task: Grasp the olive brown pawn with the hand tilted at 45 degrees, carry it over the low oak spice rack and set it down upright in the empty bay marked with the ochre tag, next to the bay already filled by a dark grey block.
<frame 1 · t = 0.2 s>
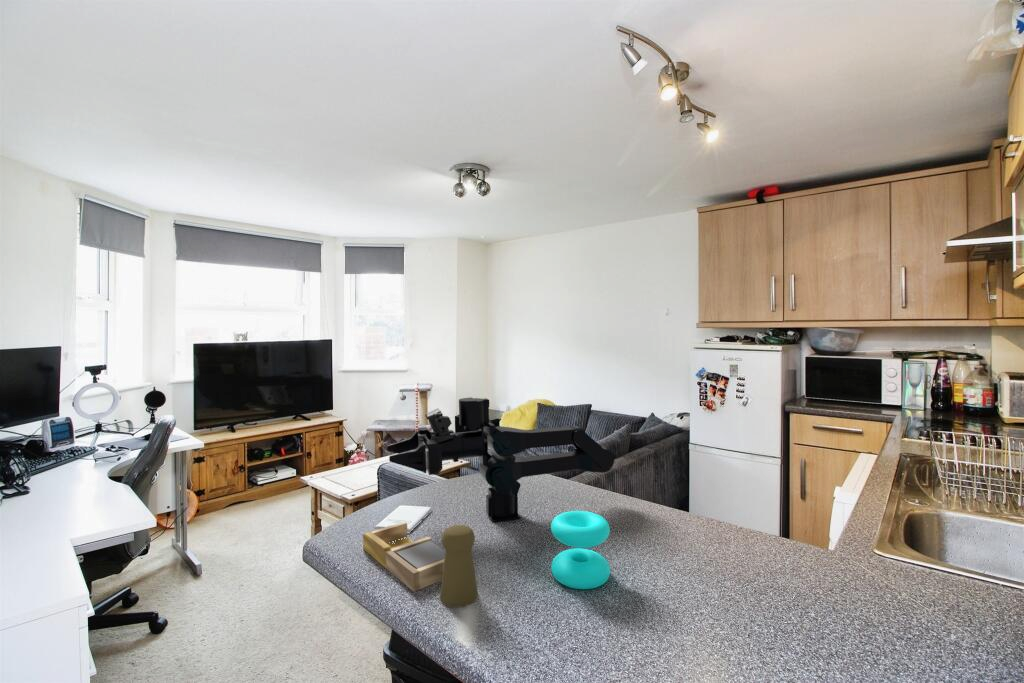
hand: (388, 453, 100), 17 cm above the countertop, tool horizontal, fingers open, 9 cm apart
donuts: (580, 578, 81), on the countertop
external hard drive: (404, 523, 106), on the countertop
spice rack: (411, 559, 87), on the countertop
olive brown pawn: (459, 597, 75), on the countertop
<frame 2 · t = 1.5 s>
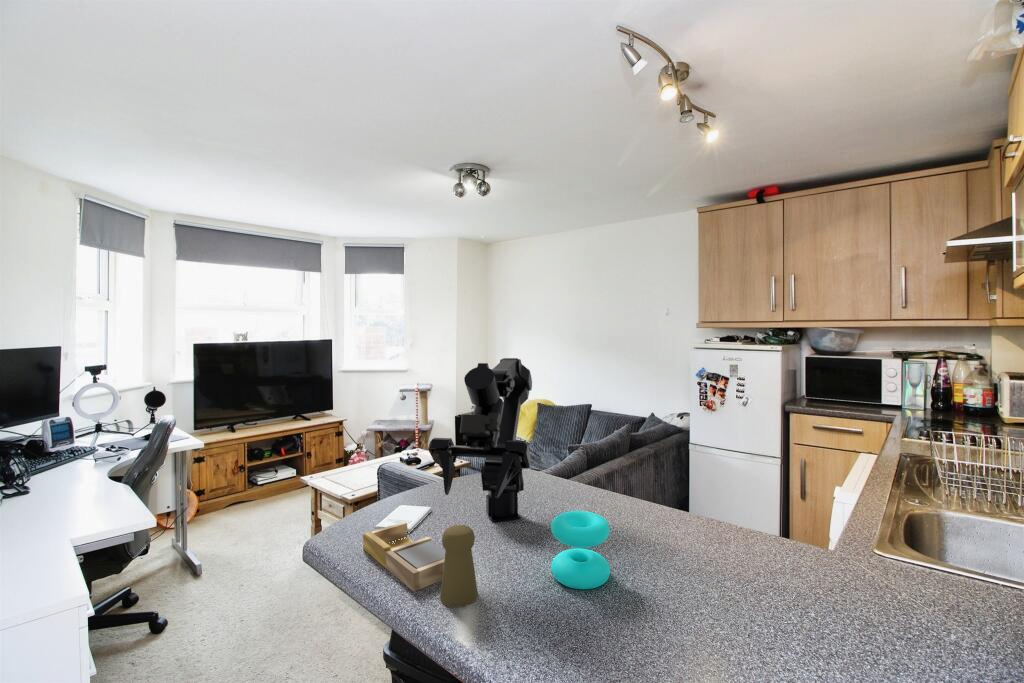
hand: (471, 495, 82), 13 cm above the countertop, tool tilted 45°, fingers open, 9 cm apart
nothing on the countertop moved.
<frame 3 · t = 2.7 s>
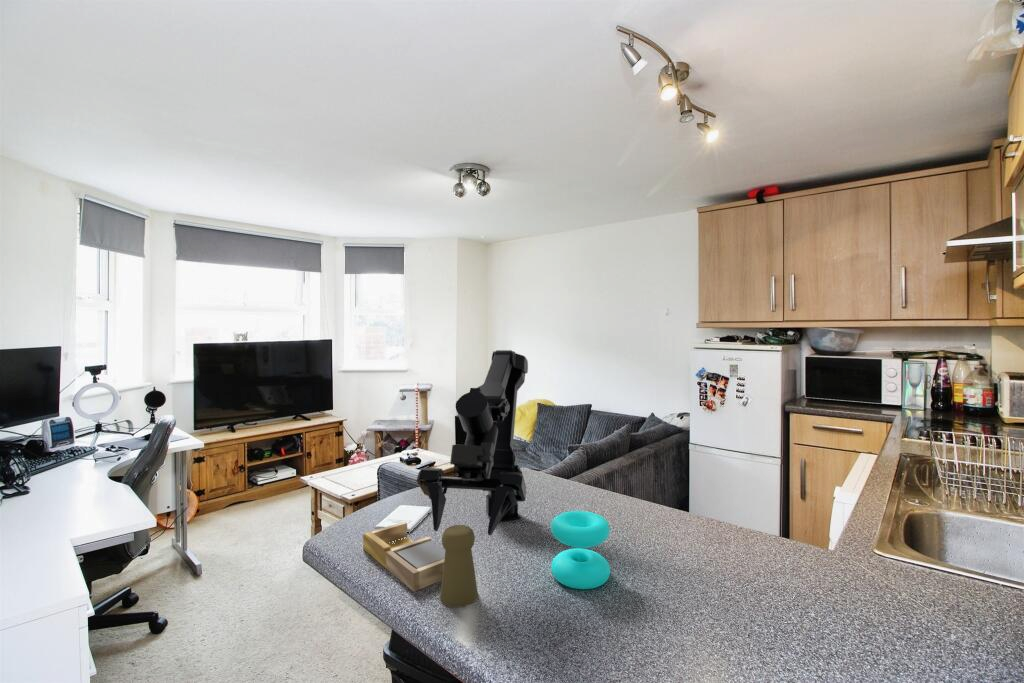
hand: (462, 532, 77), 9 cm above the countertop, tool tilted 45°, fingers open, 9 cm apart
nothing on the countertop moved.
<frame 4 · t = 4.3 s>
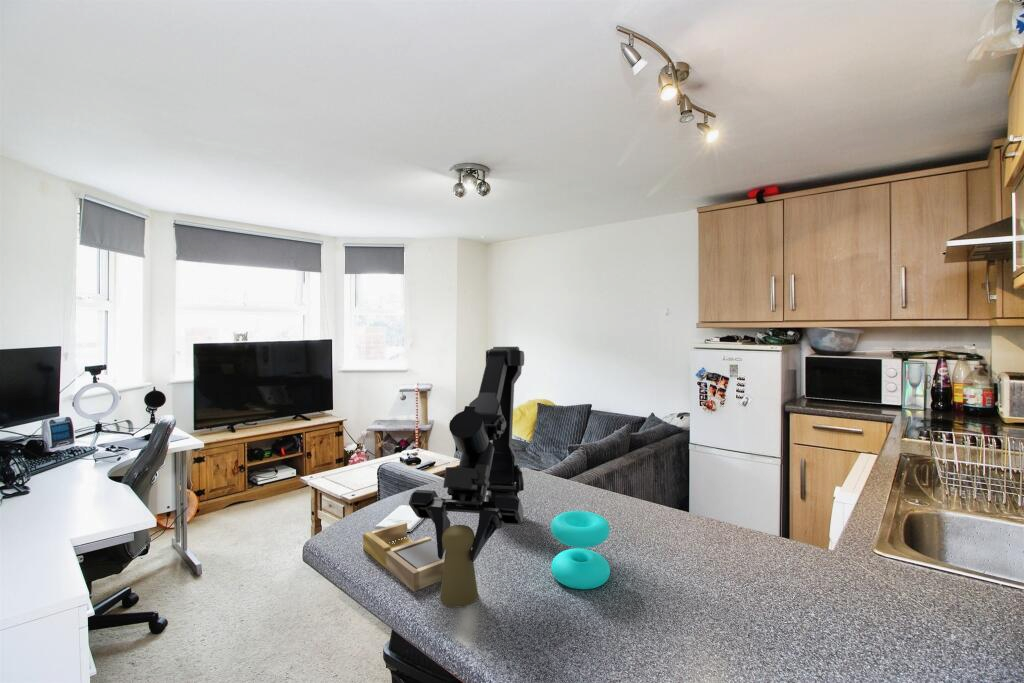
hand: (455, 559, 73), 7 cm above the countertop, tool tilted 45°, fingers closed on olive brown pawn, 5 cm apart
olive brown pawn: (459, 597, 75), on the countertop, touching gripper
everything else where it was.
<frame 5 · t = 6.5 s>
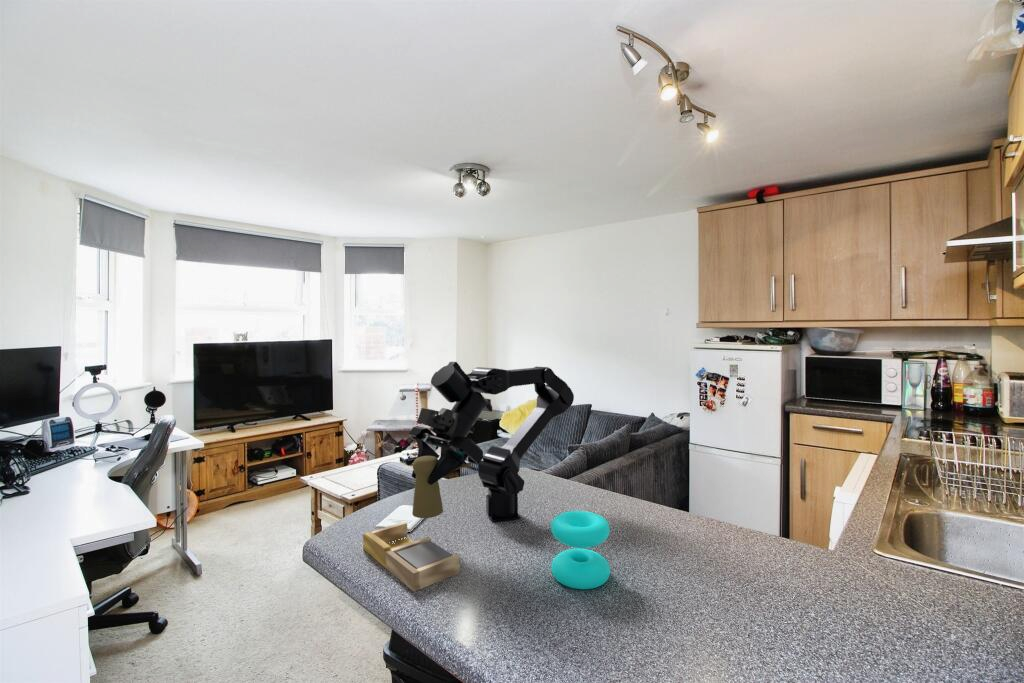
hand: (420, 480, 92), 13 cm above the countertop, tool tilted 45°, fingers closed on olive brown pawn, 5 cm apart
olive brown pawn: (427, 513, 93), point 6 cm above the countertop, touching gripper
everything else where it was.
when the fingers open (8 cm above the countertop, at t = 8.6 s): olive brown pawn stays where it is, resting on spice rack.
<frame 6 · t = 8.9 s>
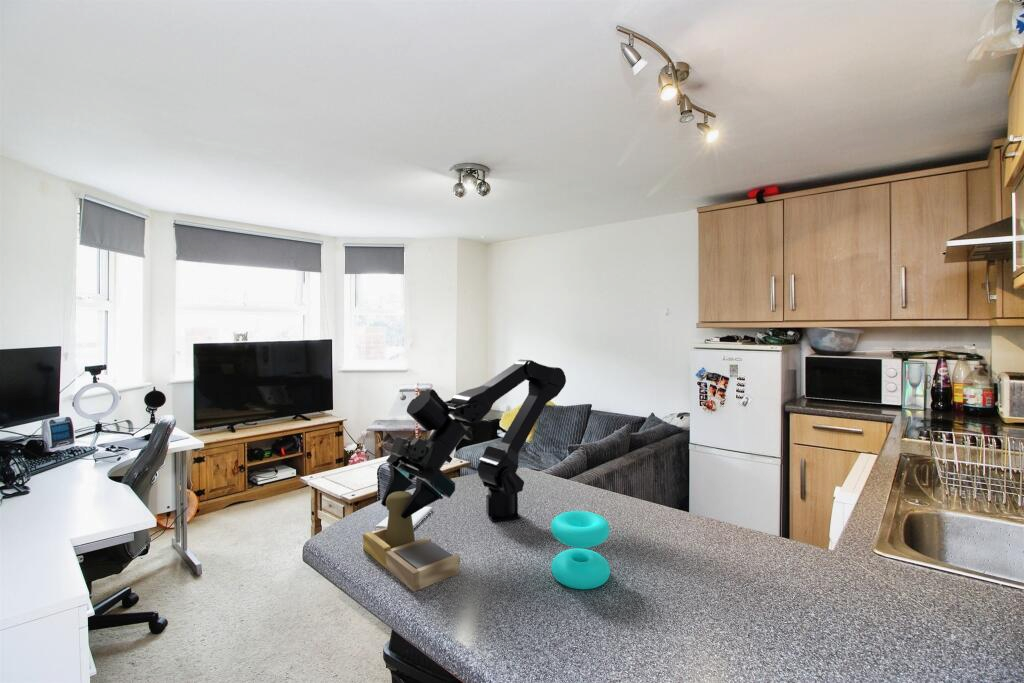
hand: (392, 511, 90), 8 cm above the countertop, tool tilted 45°, fingers open, 8 cm apart
olive brown pawn: (400, 550, 91), resting on spice rack
everything else where it was.
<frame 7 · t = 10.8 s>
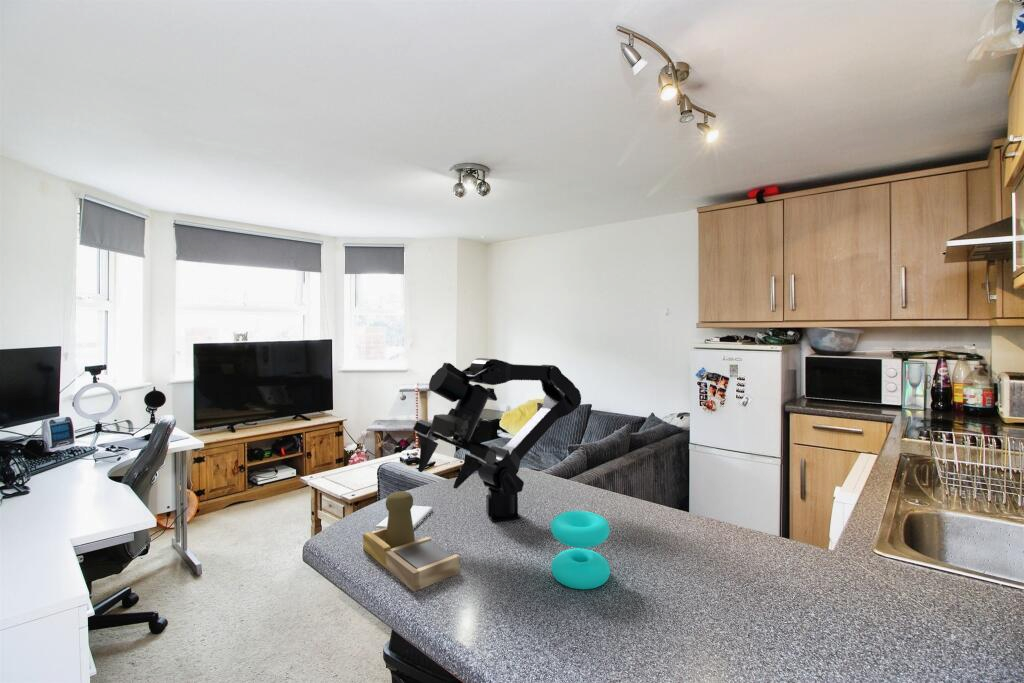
hand: (437, 479, 97), 12 cm above the countertop, tool tilted 30°, fingers open, 9 cm apart
nothing on the countertop moved.
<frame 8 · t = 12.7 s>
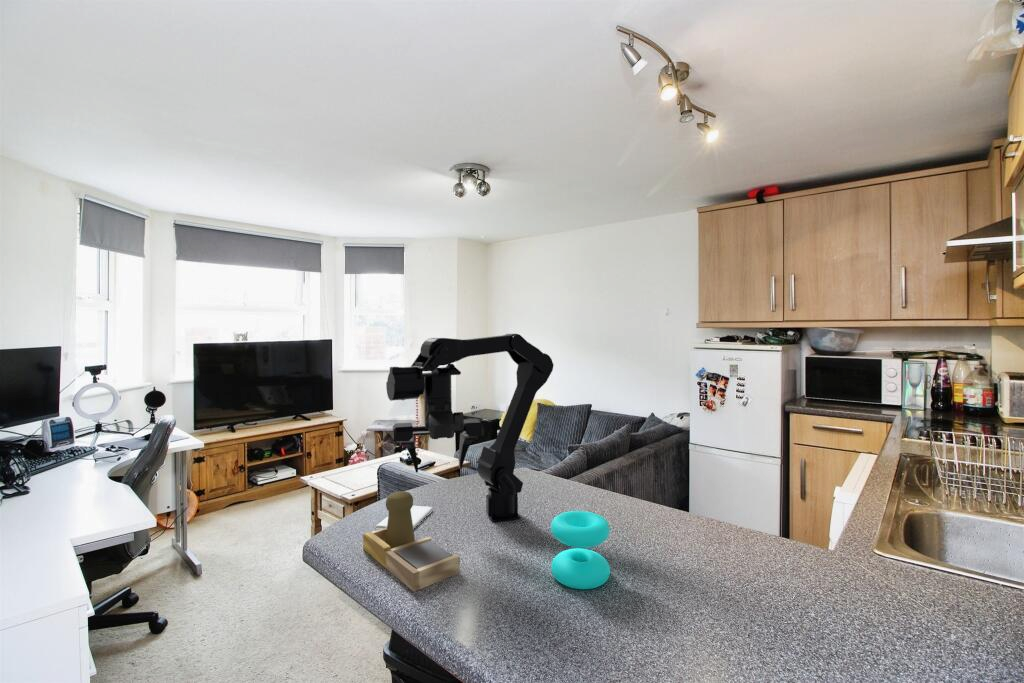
hand: (438, 470, 100), 13 cm above the countertop, tool pointing down, fingers open, 9 cm apart
nothing on the countertop moved.
at the end: olive brown pawn 0.1 cm from the target spot, resting on spice rack; olive brown pawn tilted 0°; the gripper is holding nothing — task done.
